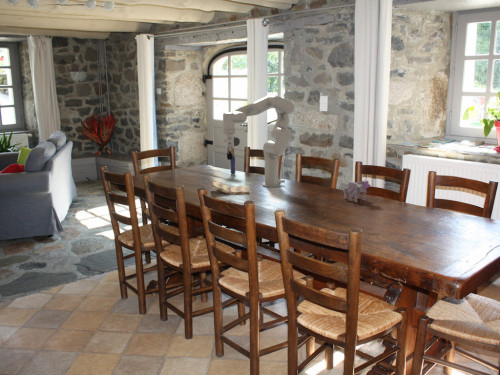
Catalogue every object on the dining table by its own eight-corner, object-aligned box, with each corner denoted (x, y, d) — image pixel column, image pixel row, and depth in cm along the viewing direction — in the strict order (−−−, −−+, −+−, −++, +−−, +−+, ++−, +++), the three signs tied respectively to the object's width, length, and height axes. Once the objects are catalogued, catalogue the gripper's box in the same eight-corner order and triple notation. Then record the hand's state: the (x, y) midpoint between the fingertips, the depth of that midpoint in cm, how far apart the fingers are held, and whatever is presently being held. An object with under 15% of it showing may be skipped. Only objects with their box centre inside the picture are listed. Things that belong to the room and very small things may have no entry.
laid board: (246, 187, 344) (246, 185, 344) (249, 193, 327) (249, 191, 326) (228, 188, 343) (228, 186, 343) (230, 194, 325) (230, 192, 325)
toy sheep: (377, 202, 299) (377, 180, 295) (364, 206, 293) (364, 183, 290) (353, 196, 315) (353, 175, 312) (341, 199, 310) (340, 178, 307)
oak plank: (227, 188, 343) (228, 186, 343) (229, 194, 325) (230, 192, 325) (211, 181, 341) (211, 179, 340) (211, 187, 323) (212, 184, 323)
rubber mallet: (241, 174, 392) (240, 136, 386) (233, 175, 388) (232, 137, 382) (232, 172, 402) (231, 135, 396) (224, 173, 398) (223, 136, 391)
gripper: (235, 132, 318) (236, 160, 322) (233, 130, 334) (234, 156, 338) (224, 133, 317) (224, 161, 321) (222, 130, 333) (223, 157, 337)
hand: (229, 158), depth 329 cm, fingers open, 4 cm apart
